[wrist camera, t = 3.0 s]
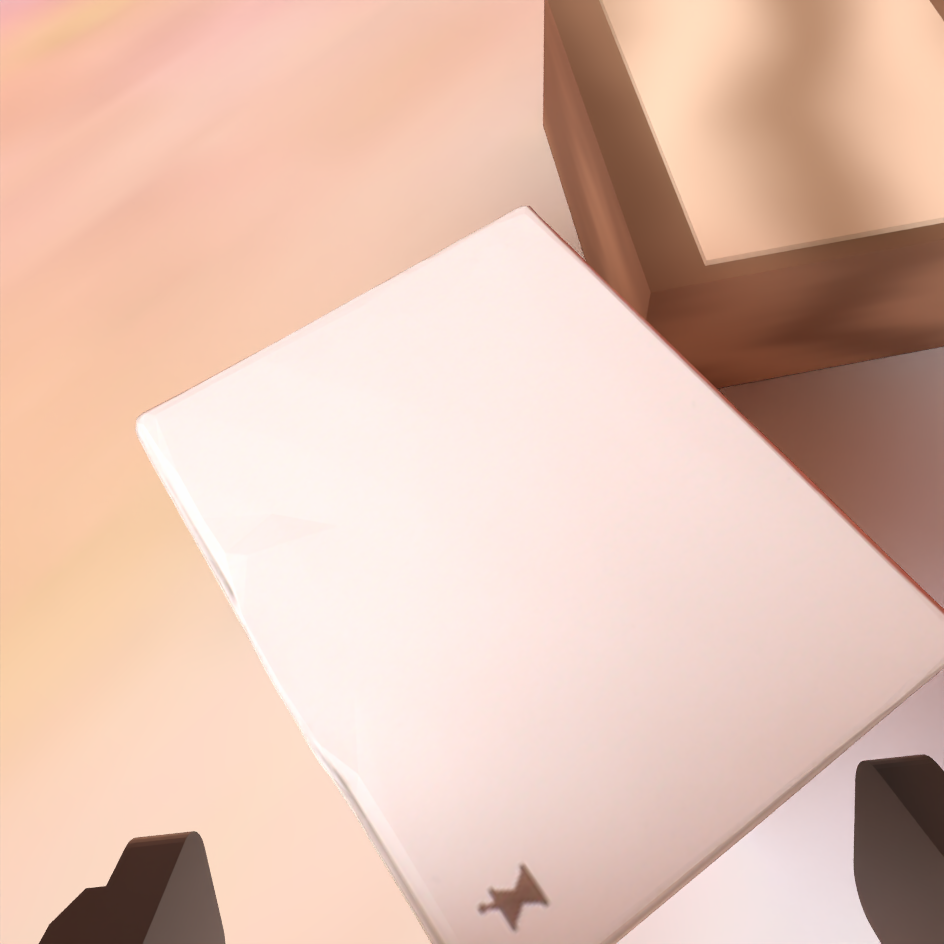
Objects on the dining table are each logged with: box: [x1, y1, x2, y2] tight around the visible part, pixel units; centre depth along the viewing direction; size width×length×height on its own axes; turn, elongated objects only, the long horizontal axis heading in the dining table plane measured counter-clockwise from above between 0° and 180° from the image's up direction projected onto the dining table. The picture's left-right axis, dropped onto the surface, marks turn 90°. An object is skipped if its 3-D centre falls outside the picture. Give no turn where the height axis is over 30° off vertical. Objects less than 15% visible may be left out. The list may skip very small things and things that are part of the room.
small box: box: [136, 206, 944, 944], centre depth 16 cm, size 8×6×13 cm
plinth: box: [543, 0, 944, 388], centre depth 26 cm, size 12×12×5 cm
